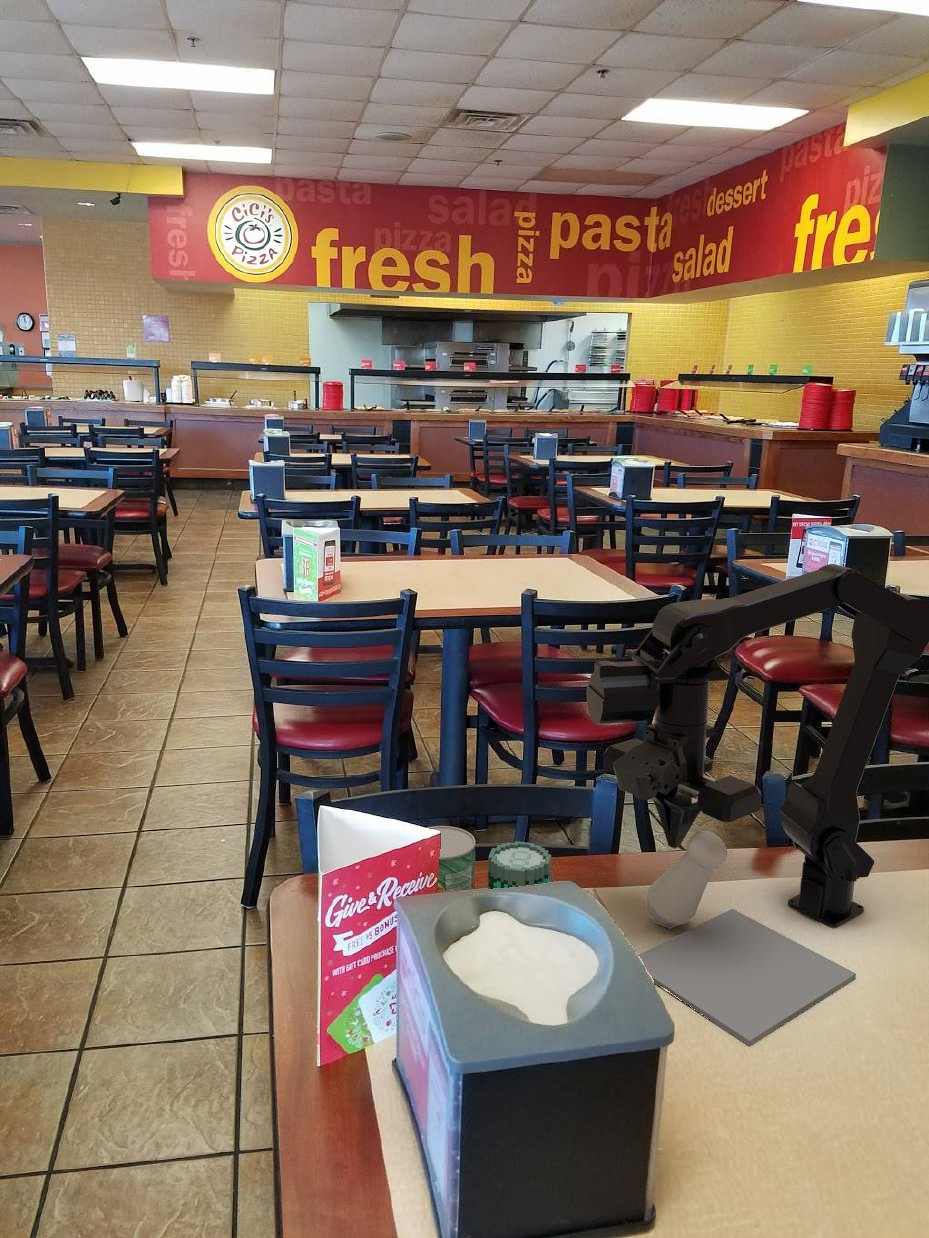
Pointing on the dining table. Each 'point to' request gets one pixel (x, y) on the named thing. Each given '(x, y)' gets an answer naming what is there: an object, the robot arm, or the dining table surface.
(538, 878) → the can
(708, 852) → the salt shaker
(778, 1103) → the dining table surface
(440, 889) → the canned tomato
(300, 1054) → the dining table surface
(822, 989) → the mat
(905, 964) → the dining table surface
